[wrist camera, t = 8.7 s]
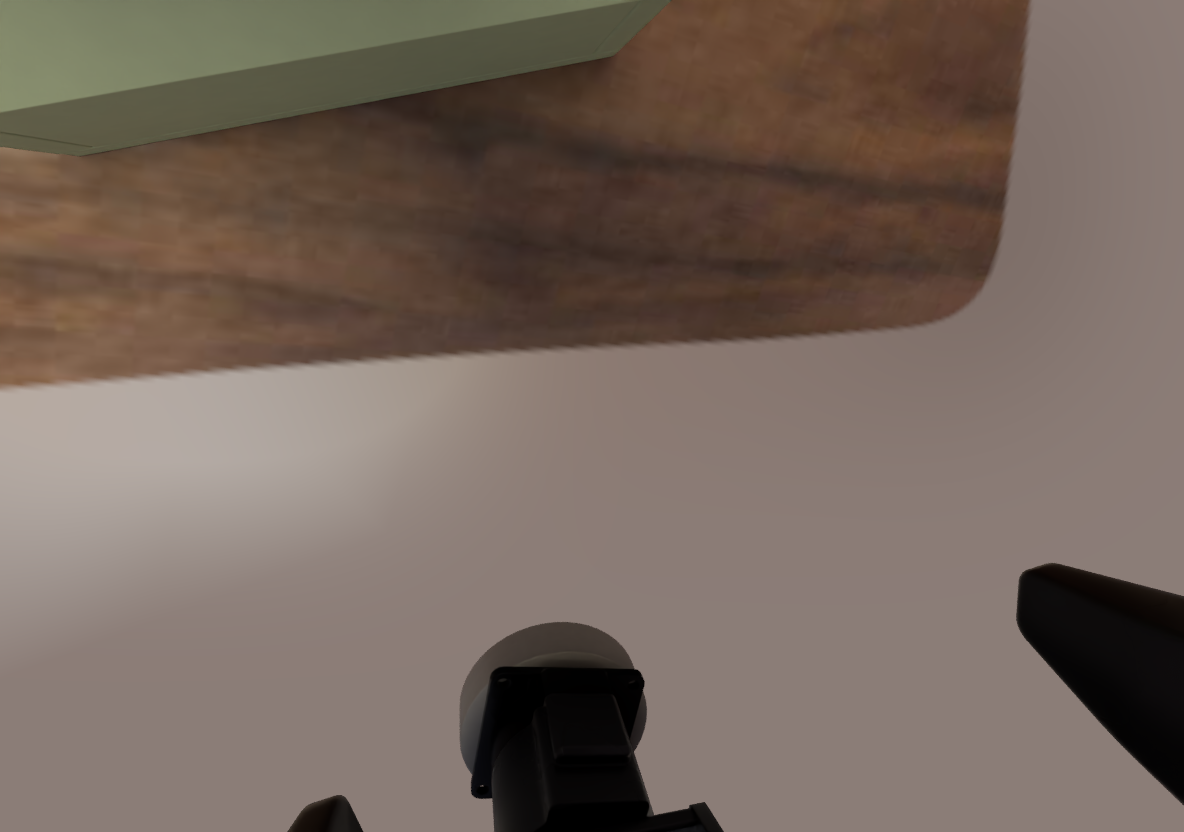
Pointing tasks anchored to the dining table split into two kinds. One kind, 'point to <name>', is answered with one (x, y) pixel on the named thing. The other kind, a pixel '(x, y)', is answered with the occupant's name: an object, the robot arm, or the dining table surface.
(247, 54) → the lid
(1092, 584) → the robot arm
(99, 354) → the dining table surface
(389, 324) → the dining table surface
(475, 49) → the chest
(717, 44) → the dining table surface
